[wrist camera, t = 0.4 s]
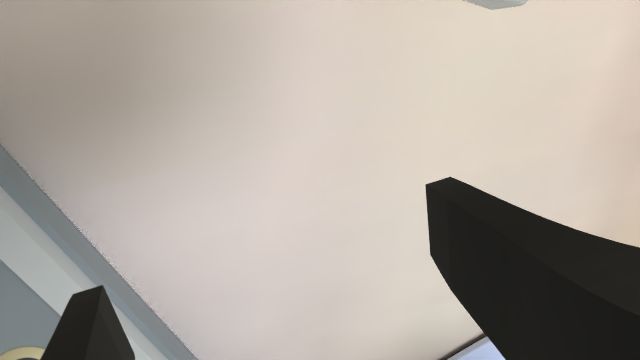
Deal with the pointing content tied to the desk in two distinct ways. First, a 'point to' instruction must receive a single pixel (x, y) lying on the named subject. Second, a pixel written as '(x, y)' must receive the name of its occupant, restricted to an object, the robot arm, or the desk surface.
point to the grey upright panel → (497, 3)
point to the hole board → (59, 276)
